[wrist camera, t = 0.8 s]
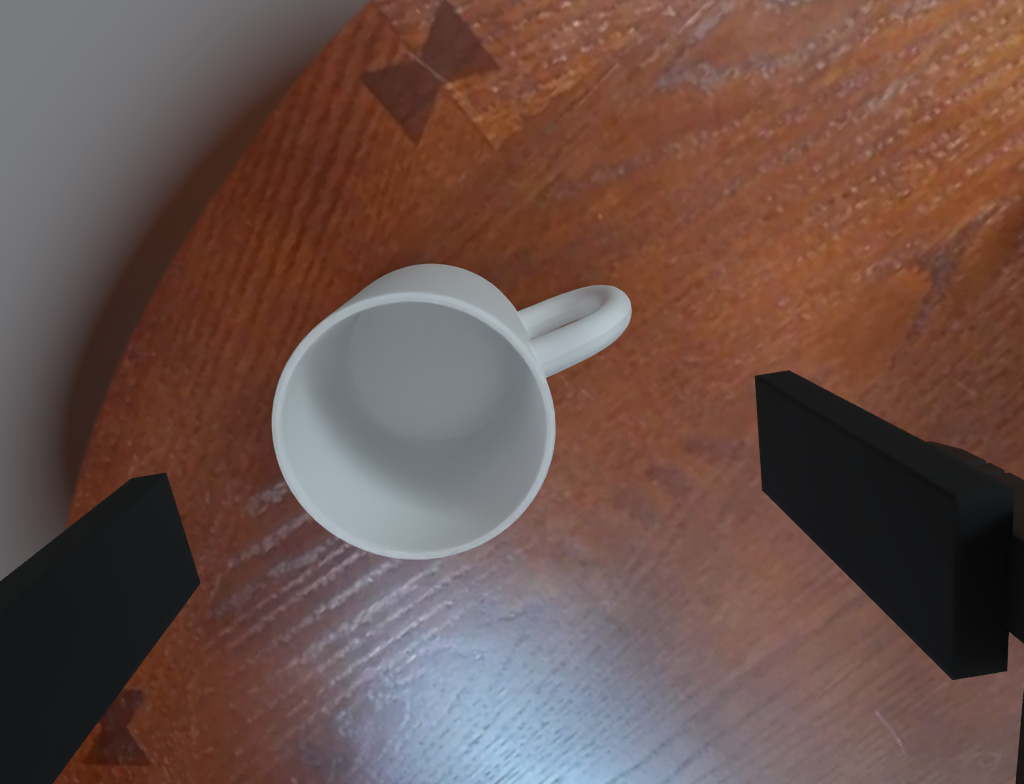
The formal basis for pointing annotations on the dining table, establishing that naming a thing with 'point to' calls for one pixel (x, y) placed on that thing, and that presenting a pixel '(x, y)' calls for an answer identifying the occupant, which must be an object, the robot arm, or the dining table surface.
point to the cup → (431, 407)
